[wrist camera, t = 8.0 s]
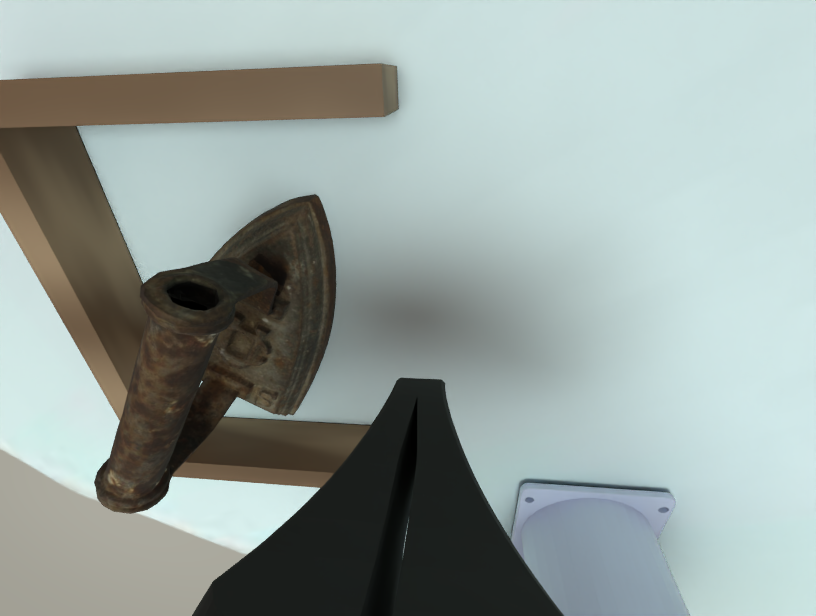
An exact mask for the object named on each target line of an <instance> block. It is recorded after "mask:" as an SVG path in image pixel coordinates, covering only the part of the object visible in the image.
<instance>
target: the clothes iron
mask: <svg viewBox="0 0 816 616" xmlns="http://www.w3.org/2000/svg"><path fill="white" fill-rule="evenodd" d="M140 298H141V299H142V300H141V304H142V306H143V308H144V310H145V313H146V314H147V315H148V318H147V321H146V325H145V329H144V333H143V337H142V340H141V344H140V348H139V351H138V355H137V359H136V362H135V366H134V370H133V374H132V378H131V382H130V386H129V390H128V393H127V397H126V401H125V405H124V409H123V414H122V417H121V420H120V423H119V426H118V429H117V433H116V436H115V440H114V444H113V447H112V451H111V455H110V458H109V459H108V460H107V461H106V462H105V463H104V464H103V465H102V466H101V468H100V469H99V470H98V472H97V475H96V478H95V482H94V484H95V486H96V492H97V498H98V500H99V501H100V502H101V504H102V505H103V506H105V507H107V508H108V509H110V510H112V511H114V512H122V513H130V514H131V513H136V512H140V511H144V510H148V509H149V508H151V507H153V506H154V505H156V504H157V503H158V502H159V501H160V500H161V499H162V498H164V497H165V495H166V494H167V492H168V489H169V483H170V480H171V478H172V476H173V474H174V473H175V472H176V471H177V470H178V468H179V467H180V466H181V465H182V464H183V463H184V462H185V461H186V460H187V459H188V458H189V457H190V456H191V455H192V454H193V453H194V452H195V450H196V449H197V448H198V447H199V446H200V445H201V444H202V443H203V442H204V441H205V439H206V438H207V437H208V436H209V435H210V434H211V432H212V431H213V430H214V429H215V427H216V426H217V424H218V423H219V422H220V420H221V419H222V417H223V416H224V415H225V413H226V412H227V410H228V409H229V407H230V406H231V404H232V403H233V402H234V400H235V399H236V397H239V398H241V399H243V400H245V401H247V402H249V403H252V404H254V405H256V406H258V407H260V408H262V409H264V410H266V411H269V412H271V413H273V414H278V415H280V414H281V415H284V416H286V415H288V414H290V415H294V414H295V412H296V411H297V409H298V408H299V406H300V404H301V403H302V401H303V399H304V397H305V395H306V393H307V391H308V390H309V388H310V386H311V384H312V382H313V380H314V378H315V375H316V373H317V371H318V369H319V366H320V363H321V361H322V359H323V356H324V353H325V350H326V347H327V344H328V340H329V336H330V332H331V328H332V323H333V317H334V309H335V298H336V266H335V257H334V248H333V240H332V237H331V231H330V228H329V224H328V221H327V217H326V214H325V211H324V209H323V206H322V203H321V201H320V199H319V197H318V196H316V195H310V196H303V197H298V198H294V199H291V200H289V201H286V202H284V203H282V204H280V205H278V206H276V207H275V208H273V209H271V210H269V211H267V212H265V213H263V214H261V215H260V216H258V217H257V218H255V219H254V220H253V221H251V222H250V223H249V224H247V225H246V226H245V227H243V228H242V229H241V230H240V231H239V232H237V233H236V234H235V235H234V236H233V237H232V238H231V239H230V240H229V241H227V242H226V243H225V244H224V245H223V246H222V247H221V248H220V249H219V250H218V251H217V253H216V254H215V255H214V256H213V257H212V258H211V260H210V261H209V262H205V263H200V264H197V265H193V266H190V267H186V268H181V269H175V270H169V271H163V272H159V273H157V274H156V275H154V276H153V277H152V278H150V279H149V280H147V281H146V282H145V283H144V284H142V285H141V287H140ZM201 380H202V381H203V382H202V384H201V385H200V383H201ZM199 385H200V387H199Z"/></svg>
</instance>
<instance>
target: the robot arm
mask: <svg viewBox="0 0 816 616" xmlns="http://www.w3.org/2000/svg"><path fill="white" fill-rule="evenodd" d="M675 505H676V500H675V498H674V497H673V495H672V494H670V493H667V492H654V491H640V490H626V489H612V488H597V487H583V486H569V485H555V484H540V483H525V484H523V485H522V486H521V488H520V492H519V498H518V503H517V509H516V514H515V520H514V525H513V531H512V537H511V540H510V538H509V536H508V535H507V533H506V532H505V530H504V528H503V527H502V525H501V524H500V522H499V520H498V519H497V517H496V515H495V514H494V512H493V510H492V508H491V506H490V505H489V503H488V501H487V499H486V497H485V496H484V494H483V492H482V490H481V488H480V486H479V484H478V482H477V480H476V478H475V476H474V474H473V472H472V469H471V467H470V465H469V463H468V461H467V458H466V456H465V454H464V451H463V449H462V446H461V444H460V441H459V438H458V436H457V433H456V430H455V427H454V424H453V421H452V418H451V415H450V411H449V407H448V403H447V398H446V392H445V383H444V382H443V381H442V380H437V379H415V378H400V379H398V380H397V381H396V383H395V386H394V388H393V390H392V392H391V394H390V395H389V397H388V399H387V401H386V403H385V404H384V406H383V408H382V409H381V411H380V412H379V414H378V416H377V417H376V419H375V420H374V422H373V423H372V425H371V426H370V428H369V429H368V431H367V432H366V434H365V435H364V436H363V438H362V439H361V440H360V442H359V443H358V444H357V446H356V447H355V448H354V450H353V451H352V452H351V454H350V455H349V456H348V457H347V459H346V460H345V461H344V462H343V464H342V465H341V466H340V467H339V468H338V469H337V471H336V472H335V473H334V474H333V475H332V476H331V477H330V479H329V480H328V481H327V482H326V483H325V484H324V485H323V486H322V487H321V488H320V489H319V490H318V491H317V492H316V493H315V494H314V495H313V497H312V498H311V499H310V500H309V501H308V502H307V503H306V504H305V505H304V506H303V507H302V508H301V509H299V510H298V511H297V512H296V513H295V514H294V515H293V516H292V517H291V518H290V519H289V520H287V521H286V522H285V523H284V524H283V525H282V526H281V527H280V528H278V529H277V530H276V531H275V532H274V533H273V534H272V535H271V536H269V537H268V538H267V539H266V540H265V541H264V542H263V543H261V544H260V545H259V546H258V547H257V548H255V549H254V550H253V551H251V552H250V553H249V554H248V555H246V556H245V557H244V558H242V559H241V560H240V561H239V562H238V563H236V564H235V565H234V566H232V567H231V568H230V569H228V571H226V572H225V573H223V574H222V575H221V576H219V577H218V578H217V579H215V580H214V581H213V582H212V584H211V586H210V587H209V589H208V591H207V592H206V594H205V595H204V597H203V598H202V600H201V602H200V603H199V605H198V607H197V608H196V610H195V612H194V613H193V615H192V616H690V614H689V612H688V609H687V607H686V605H685V602H684V600H683V598H682V596H681V593H680V591H679V589H678V586H677V584H676V582H675V580H674V577H673V575H672V573H671V570H670V568H669V566H668V564H667V561H666V559H665V557H664V554H663V552H662V550H661V548H660V545H659V543H658V541H657V540H658V538H659V536H660V534H661V532H662V530H663V528H664V526H665V524H666V522H667V521H668V519H669V517H670V515H671V513H672V511H673V509H674V507H675ZM408 519H409V521H408ZM407 525H408V528H407ZM406 530H407V534H406ZM405 536H406V541H405ZM404 543H405V547H404ZM403 550H404V553H403ZM402 559H403V560H402Z"/></svg>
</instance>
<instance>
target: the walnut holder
mask: <svg viewBox="0 0 816 616" xmlns="http://www.w3.org/2000/svg"><path fill="white" fill-rule="evenodd" d="M398 109H399V108H398V83H397V66H392V65H387V64H382V63H381V64H358V65H335V66H312V67H289V68H266V69H243V70H220V71H198V72H175V73H152V74H129V75H106V76H83V77H60V78H38V79H15V80H0V213H1V214H2V216H3V218H4V220H5V221H6V223H7V225H8V227H9V228H10V230H11V232H12V234H13V235H14V237H15V239H16V241H17V242H18V244H19V246H20V248H21V249H22V251H23V253H24V255H25V256H26V258H27V260H28V262H29V263H30V265H31V267H32V269H33V270H34V272H35V274H36V276H37V277H38V279H39V281H40V283H41V284H42V286H43V288H44V289H45V291H46V293H47V295H48V296H49V298H50V300H51V302H52V303H53V305H54V307H55V309H56V310H57V312H58V314H59V316H60V317H61V319H62V321H63V323H64V324H65V326H66V328H67V330H68V331H69V333H70V335H71V337H72V338H73V340H74V342H75V344H76V345H77V347H78V349H79V351H80V352H81V354H82V356H83V357H84V359H85V361H86V363H87V364H88V366H89V368H90V370H91V371H92V373H93V375H94V377H95V378H96V380H97V382H98V384H99V385H100V387H101V389H102V391H103V392H104V394H105V396H106V398H107V399H108V401H109V403H110V405H111V406H112V408H113V410H114V412H115V413H116V415H117V417H118V419H119V420H121V417H122V414H123V409H124V405H125V401H126V397H127V393H128V390H129V386H130V382H131V378H132V374H133V370H134V366H135V362H136V359H137V355H138V351H139V348H140V344H141V340H142V337H143V333H144V329H145V325H146V321H147V318H148V315H147V314H146V313H145V310H144V308H143V306H142V304H141V300H142V299H141V298H140V287H141V285H142V282H141V279H140V277H139V275H138V272H137V270H136V268H135V265H134V263H133V260H132V258H131V256H130V253H129V251H128V249H127V246H126V244H125V242H124V239H123V237H122V235H121V232H120V230H119V228H118V225H117V223H116V221H115V218H114V216H113V213H112V211H111V209H110V206H109V204H108V202H107V199H106V197H105V195H104V192H103V190H102V188H101V185H100V183H99V181H98V178H97V176H96V174H95V171H94V169H93V166H92V164H91V162H90V159H89V157H88V155H87V152H86V150H85V148H84V145H83V143H82V141H81V138H80V136H79V134H78V131H77V129H76V127H75V126H83V125H118V124H153V123H187V122H222V121H257V120H291V119H326V118H361V117H385V116H387V115H389V114H391V113H392V112H394V111H396V110H398ZM369 428H370V425H352V424H335V423H317V422H300V421H282V420H265V419H247V418H230V417H222V419H221V420H220V422H219V423H218V424H217V426H216V427H215V429H214V430H213V431H212V432H211V434H210V435H209V436H208V437H207V438H206V439H205V441H204V442H203V443H202V444H201V445H200V446H199V447H198V448H197V449H196V450H195V452H194V453H193V454H192V455H191V456H190V457H189V458H188V459H187V460H186V461H185V462H184V463H183V464H182V465H181V466H180V467H179V468H178V470H177V471H176V472H175V473H174V474H173V477H186V478H199V479H213V480H226V481H239V482H252V483H266V484H279V485H292V486H305V487H318V488H321V487H322V486H323V485H324V484H325V483H326V482H327V481H328V480H329V479H330V477H331V476H332V475H333V474H334V473H335V472H336V471H337V469H338V468H339V467H340V466H341V465H342V464H343V462H344V461H345V460H346V459H347V457H348V456H349V455H350V454H351V452H352V451H353V450H354V448H355V447H356V446H357V444H358V443H359V442H360V440H361V439H362V438H363V436H364V435H365V434H366V432H367V431H368V429H369Z"/></svg>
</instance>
